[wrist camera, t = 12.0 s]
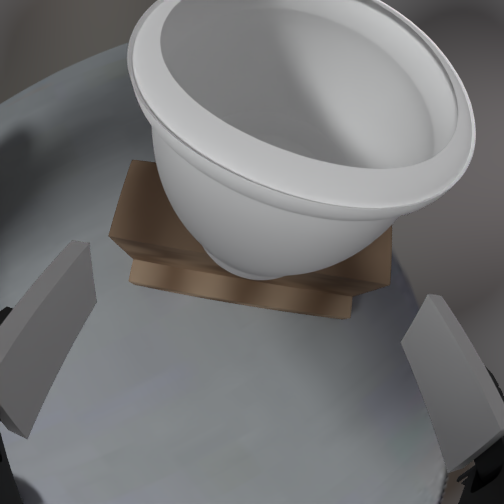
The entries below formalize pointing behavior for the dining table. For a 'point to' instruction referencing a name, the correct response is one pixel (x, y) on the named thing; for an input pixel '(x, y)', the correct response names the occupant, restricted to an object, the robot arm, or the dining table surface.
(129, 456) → the dining table surface
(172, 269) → the wooden block
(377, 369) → the dining table surface
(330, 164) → the jar
